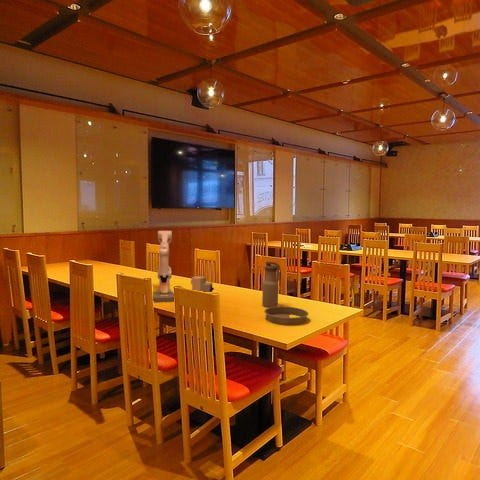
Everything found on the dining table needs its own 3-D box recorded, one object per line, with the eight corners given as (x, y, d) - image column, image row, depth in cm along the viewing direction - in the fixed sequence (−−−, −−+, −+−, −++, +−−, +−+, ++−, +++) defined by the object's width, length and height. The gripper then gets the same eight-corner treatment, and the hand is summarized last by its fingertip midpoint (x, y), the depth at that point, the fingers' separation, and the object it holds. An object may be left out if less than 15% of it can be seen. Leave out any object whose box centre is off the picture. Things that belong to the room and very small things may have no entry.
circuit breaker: (211, 301, 260) (212, 279, 258) (190, 300, 262) (190, 278, 261) (214, 299, 267) (215, 277, 266) (194, 298, 270) (194, 276, 268)
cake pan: (292, 329, 206) (292, 320, 205) (255, 319, 221) (255, 311, 221) (316, 319, 224) (316, 311, 224) (280, 311, 240) (280, 304, 240)
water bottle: (279, 304, 255) (280, 261, 253) (276, 308, 246) (278, 263, 244) (264, 303, 258) (265, 260, 256) (260, 307, 249) (261, 262, 246)
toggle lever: (160, 293, 267) (160, 283, 269) (167, 293, 268) (167, 283, 270) (160, 293, 265) (160, 282, 267) (167, 293, 266) (167, 282, 268)
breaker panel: (150, 296, 272) (150, 288, 271) (177, 295, 276) (177, 287, 275) (150, 302, 254) (150, 294, 254) (178, 301, 258) (178, 293, 258)
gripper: (157, 264, 274) (157, 284, 275) (158, 267, 260) (158, 288, 261) (168, 264, 276) (168, 284, 277) (169, 267, 262) (169, 288, 263)
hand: (164, 286), depth 269 cm, fingers closed, pressing on toggle lever
